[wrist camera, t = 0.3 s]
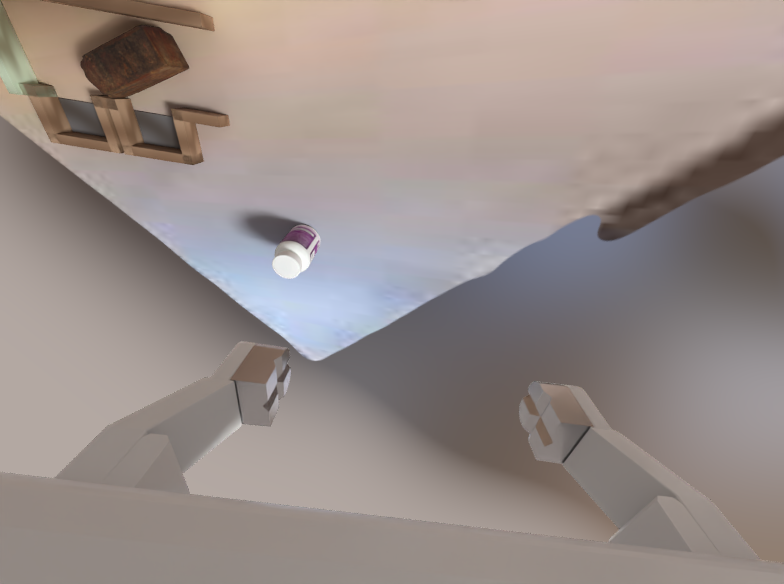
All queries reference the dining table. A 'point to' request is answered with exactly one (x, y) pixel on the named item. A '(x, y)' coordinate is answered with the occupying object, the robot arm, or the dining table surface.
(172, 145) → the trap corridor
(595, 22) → the dining table surface
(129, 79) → the brick
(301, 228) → the pill bottle
